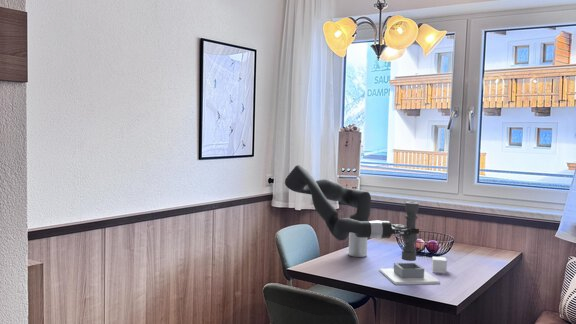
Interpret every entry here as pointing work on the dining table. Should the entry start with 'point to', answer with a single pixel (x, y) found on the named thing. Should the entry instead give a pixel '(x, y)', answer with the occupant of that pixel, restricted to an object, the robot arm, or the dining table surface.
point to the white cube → (439, 264)
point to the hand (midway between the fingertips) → (416, 229)
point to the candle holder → (410, 240)
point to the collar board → (408, 274)
